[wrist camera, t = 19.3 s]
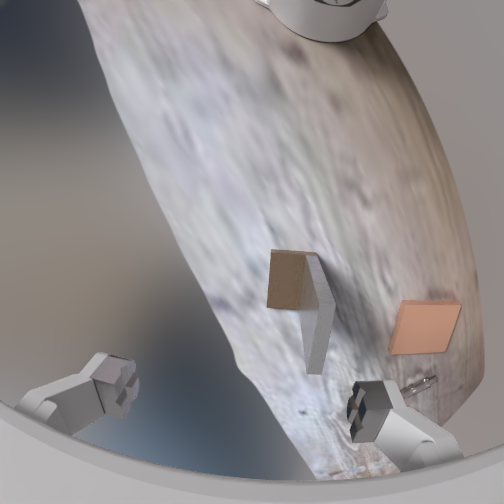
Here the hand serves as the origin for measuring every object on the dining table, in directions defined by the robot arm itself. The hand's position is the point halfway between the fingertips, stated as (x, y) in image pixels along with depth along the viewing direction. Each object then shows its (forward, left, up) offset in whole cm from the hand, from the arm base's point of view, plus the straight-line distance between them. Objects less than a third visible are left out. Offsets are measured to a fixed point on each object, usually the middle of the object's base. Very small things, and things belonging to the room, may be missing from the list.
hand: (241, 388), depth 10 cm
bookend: (+8, +4, -31) cm, 32 cm away
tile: (+15, +21, -31) cm, 40 cm away
